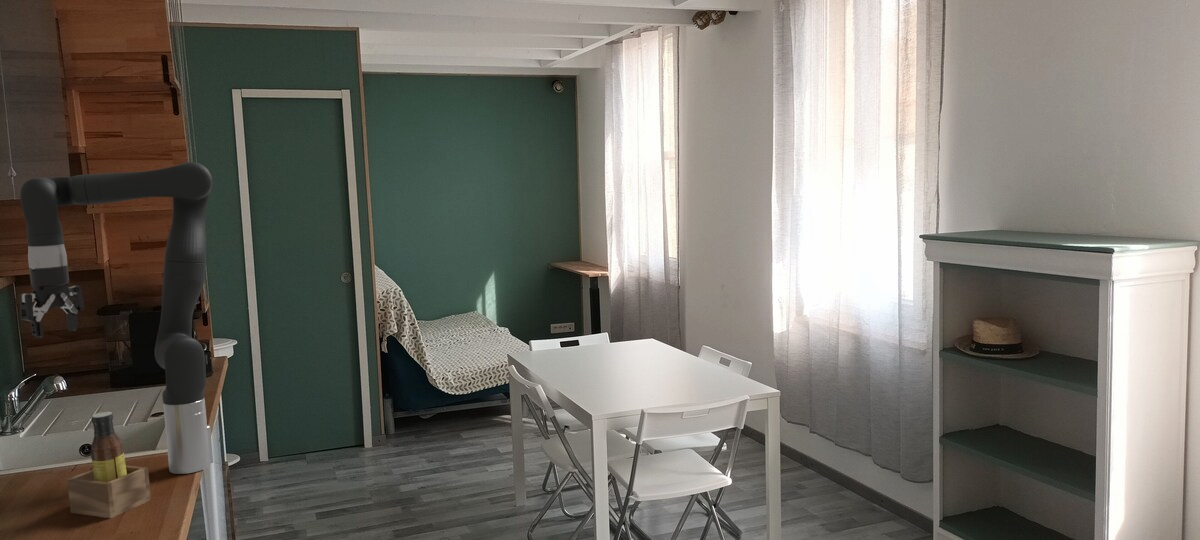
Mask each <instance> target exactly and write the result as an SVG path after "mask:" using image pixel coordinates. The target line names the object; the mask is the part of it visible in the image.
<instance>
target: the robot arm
mask: <svg viewBox="0 0 1200 540" xmlns="http://www.w3.org/2000/svg"><path fill="white" fill-rule="evenodd" d="M212 187H213V177H212V174H211V173H210V171H209V169H208V168H207V167H206V166H204V165H203V164H202V163H198V162H193V161H186V162H183V163H180V164H177V165H173V166H168V167H164V168H159V169H153V170H144V171H143V170H142V171H126V172H103V173H102V172H99V173H88V174H79V175H73V176H57V177H56V176H54V177H52V176H51V177H31V178H30V179H29V178H28V179H27V180H26V181H25V182H23V184H22V185H21V188H20V191H19V193H20V195H19V196H20V204H21V208H22V209H21V210H22V214H23V217H24V220H25V224H26V225H25V226H26V238H27V240H26V241H27V246H28V247H27V248H28V250H27V251H28V252H27V259H28V270H29V279H30V285H31V287H32V293H20V294H19V298H18V299H19V313H20V320H21V321H28V322H29V323H30V330H31V335H32V336H33V338H35V339H41V338H44V327H43V321H42V319H43V317H44V315H45V314H46V313H48V310H53V309H55V308H56V309H57V308H58V309H59V308H60V309H62V310H63V312H65V313H66V316H65V318H66V319H65V320H66V328H67V331H70V332H71V331H72V332H73V331H77V329H78V327H79V323H78V314H79V313H80V312H81V311H84V310H85V302H84V296H83V295H84V294H83V289H82V286H81V285H71V286H69V283H70V277H69V269H68V267H69V265H68V257H67V251H66V247H65V243H64V241H65V239H64V232H63V227H62V223H61V221H60V220H59V211H58V207H64V206H67V207H68V206H73V205H78V206H79V205H80V206H87V205H89V206H91V205H100V204H112V203H118V202H125V201H132V200H137V199H144V198H145V199H147V198H160V197H161V198H172V220H171V226H170V229H169V233H168V237H167V241H166V246H165V247H166V248H165V253H164V259H163V260H164V261H163V270H162V271H163V275H162V276H163V277H162V291H161V292H162V293H161V311H160V312H161V313H160V321H159V325H158V332H157V335H156V341H155V346H154V358H155V361H156V363H157V364H158V366H159V367H160V368H161V369H163V370H165V389H164V390H163V391H162V393H161V394H162V395H161V396H162V407H163V416H164V426H165V436H166V437H165V438H166V439H165V441H166V449H167V459H168V470H169V472H170V473H171V474H175V475H176V474H177V475H182V474H183V475H186V474H192V473H196V472H201V471H203V470H205V469H208V468H209V467H210V466H211V464H213V463H214V454H213V442H212V430H211V429H212V428H211V426H210V425H208V424H207V423H208V422H207V421H208V420H207V410H206V399H205V390H206V387H207V370H206V368H207V367H206V356H205V350H204V349H203V348H204V347H203V345H202V344H201V343H200V341H198V340H197V339H196V338H193V337H192V336H193V335H192V332H193V329H192V328H193V325H192V324H193V315H194V311H195V308H196V306H197V303H198V300H199V298H200V295H201V293H202V290H203V288H204V284H205V279H206V268H207V235H206V217H207V210H208V205H209V199H210V195H211V191H212ZM69 296H70V298H69ZM33 302H34V304H33Z"/></svg>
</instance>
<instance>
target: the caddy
mask: <svg viewBox="0 0 1200 540" xmlns="http://www.w3.org/2000/svg"><path fill="white" fill-rule="evenodd" d="M125 465H126V464H125ZM126 472H127V475H125V476H122V477H120V478H117V479H115V480H112V481H110V482H101V481H95V479H94V472H93V469H91V470H88V471H85V472H83V473H80V474H78V475H74V476H73V477H70V478H67V479H66V484H67V492H68V502H69V509H70V511H69V512H70V514H76V515H83V516H91V517H98V518H105V519H113V518H115V517H117V516H120V515H122V514H123V513H126V512H128V511H130V510H132V509H135V508H136V507H139V506H141V505H143V504H146V503H147V502H150V501H152V498H151V497H152V496H151V495H152V494H151V487H150V476H149V475H150V474H149V467H143V466H135V465H126Z"/></svg>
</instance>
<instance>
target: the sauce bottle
mask: <svg viewBox="0 0 1200 540" xmlns="http://www.w3.org/2000/svg"><path fill="white" fill-rule="evenodd" d="M113 419H114V415H113V412H112V411H103V412H102V411H101V412H97V413H95V414H93V415H91V423H92V424H93V431H94V433H93V434H94V435H93V440H92V442H91V445H90V450H91V451H90V457H91V463H92V470H93V472H94V479H95V481H101V482H110V481H112V480H115V479H117V478H120V477H122V476H125V475H127V472H126V459H125V453H124V449H123V444H122V439H121V438H120V436H119V435H118V434H117V432H116V431H115V427H114V422H113V421H114V420H113Z"/></svg>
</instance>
